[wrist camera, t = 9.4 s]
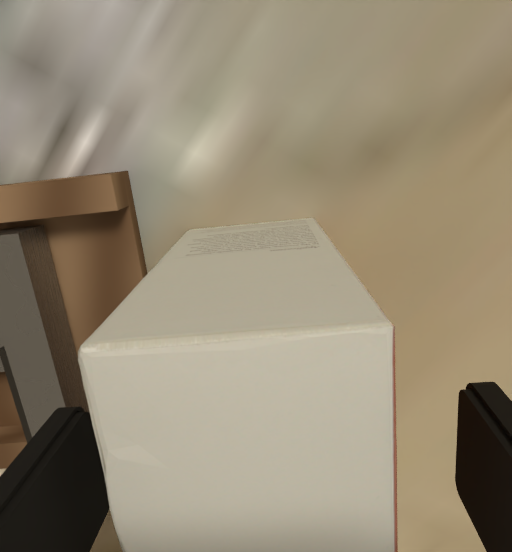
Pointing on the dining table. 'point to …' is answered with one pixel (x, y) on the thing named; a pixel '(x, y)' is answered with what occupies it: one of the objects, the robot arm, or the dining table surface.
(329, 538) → the small box
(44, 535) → the robot arm
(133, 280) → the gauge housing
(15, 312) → the gauge carriage
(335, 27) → the dining table surface
